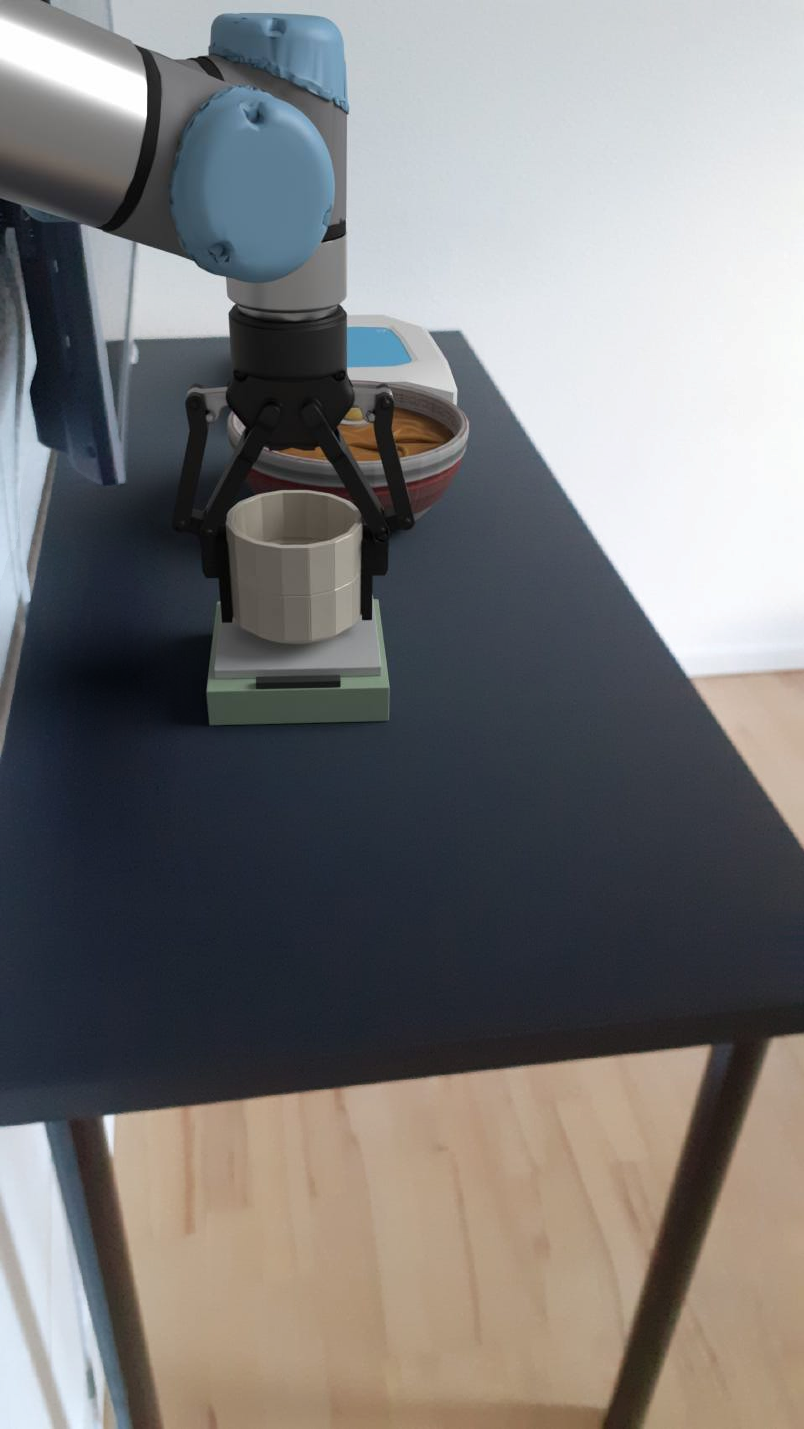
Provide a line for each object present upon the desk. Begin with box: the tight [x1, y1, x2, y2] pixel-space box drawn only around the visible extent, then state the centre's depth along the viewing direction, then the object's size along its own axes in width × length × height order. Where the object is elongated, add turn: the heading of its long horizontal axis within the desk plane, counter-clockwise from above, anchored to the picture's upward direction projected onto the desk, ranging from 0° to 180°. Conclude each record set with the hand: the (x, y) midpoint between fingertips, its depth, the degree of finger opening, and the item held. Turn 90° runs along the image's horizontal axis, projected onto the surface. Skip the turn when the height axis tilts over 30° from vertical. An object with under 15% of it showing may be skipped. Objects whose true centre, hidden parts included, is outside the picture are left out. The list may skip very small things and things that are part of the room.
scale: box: [205, 593, 391, 726], centre depth 83 cm, size 13×13×4 cm
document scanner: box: [347, 314, 458, 407], centre depth 135 cm, size 21×28×6 cm
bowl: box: [226, 380, 470, 525], centre depth 105 cm, size 23×23×10 cm
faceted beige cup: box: [225, 490, 363, 644], centre depth 79 cm, size 10×10×8 cm
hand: (297, 612), depth 81 cm, fingers closed on faceted beige cup, 10 cm apart
